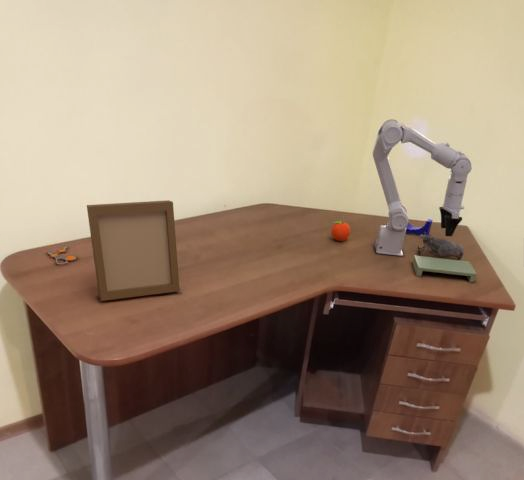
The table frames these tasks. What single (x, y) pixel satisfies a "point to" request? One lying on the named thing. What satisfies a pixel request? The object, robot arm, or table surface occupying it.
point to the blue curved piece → (420, 228)
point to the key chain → (62, 257)
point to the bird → (441, 247)
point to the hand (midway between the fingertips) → (446, 231)
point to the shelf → (443, 266)
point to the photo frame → (134, 248)
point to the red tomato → (340, 231)
